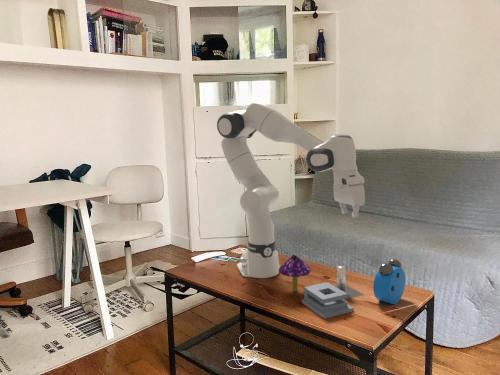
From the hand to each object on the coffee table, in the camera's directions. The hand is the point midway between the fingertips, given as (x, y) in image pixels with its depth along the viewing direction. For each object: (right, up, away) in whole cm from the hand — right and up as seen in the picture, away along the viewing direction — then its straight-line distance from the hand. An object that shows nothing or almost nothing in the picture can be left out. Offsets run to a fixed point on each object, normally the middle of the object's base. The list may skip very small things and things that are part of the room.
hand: (350, 215), depth 149 cm
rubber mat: (-2, -30, +4) cm, 30 cm away
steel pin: (-2, -30, +4) cm, 30 cm away
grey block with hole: (-10, -32, -8) cm, 34 cm away
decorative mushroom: (-20, -30, +6) cm, 37 cm away
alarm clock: (+13, -31, -5) cm, 34 cm away
